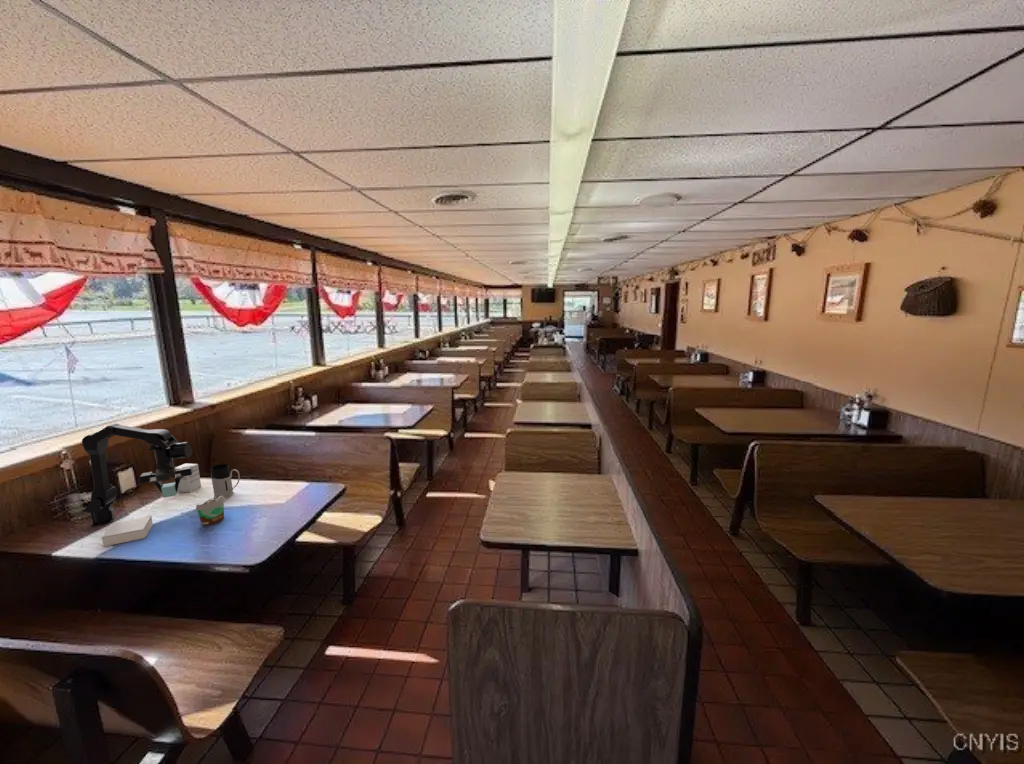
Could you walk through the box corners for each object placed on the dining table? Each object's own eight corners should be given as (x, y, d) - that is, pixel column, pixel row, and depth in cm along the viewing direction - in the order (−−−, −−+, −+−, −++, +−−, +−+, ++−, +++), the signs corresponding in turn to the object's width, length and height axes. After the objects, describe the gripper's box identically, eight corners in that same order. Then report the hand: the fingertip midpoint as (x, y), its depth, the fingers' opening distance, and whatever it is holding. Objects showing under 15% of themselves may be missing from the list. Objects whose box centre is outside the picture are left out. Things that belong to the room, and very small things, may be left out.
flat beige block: (103, 546, 178) (101, 537, 178) (114, 531, 190) (112, 522, 189) (144, 538, 184) (143, 528, 183) (153, 524, 196) (151, 515, 195)
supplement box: (177, 492, 229) (172, 468, 227) (189, 486, 236) (185, 462, 234) (189, 492, 228) (185, 468, 225) (202, 486, 235) (198, 463, 233)
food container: (211, 528, 190) (207, 506, 189) (198, 527, 192) (195, 505, 190) (234, 515, 202) (231, 493, 200) (222, 514, 204) (219, 493, 202)
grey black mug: (222, 491, 228) (218, 463, 225) (248, 492, 226) (244, 464, 223) (209, 499, 219) (204, 469, 217) (235, 500, 217) (231, 470, 215)
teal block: (162, 497, 198) (161, 487, 198) (165, 493, 202) (163, 484, 202) (175, 495, 200) (174, 485, 200) (177, 491, 204) (176, 482, 204)
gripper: (131, 468, 187) (138, 504, 190) (186, 460, 195) (192, 494, 198) (139, 460, 197) (145, 494, 200) (191, 453, 205) (196, 485, 208)
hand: (170, 492), depth 201 cm, fingers closed on teal block, 5 cm apart
